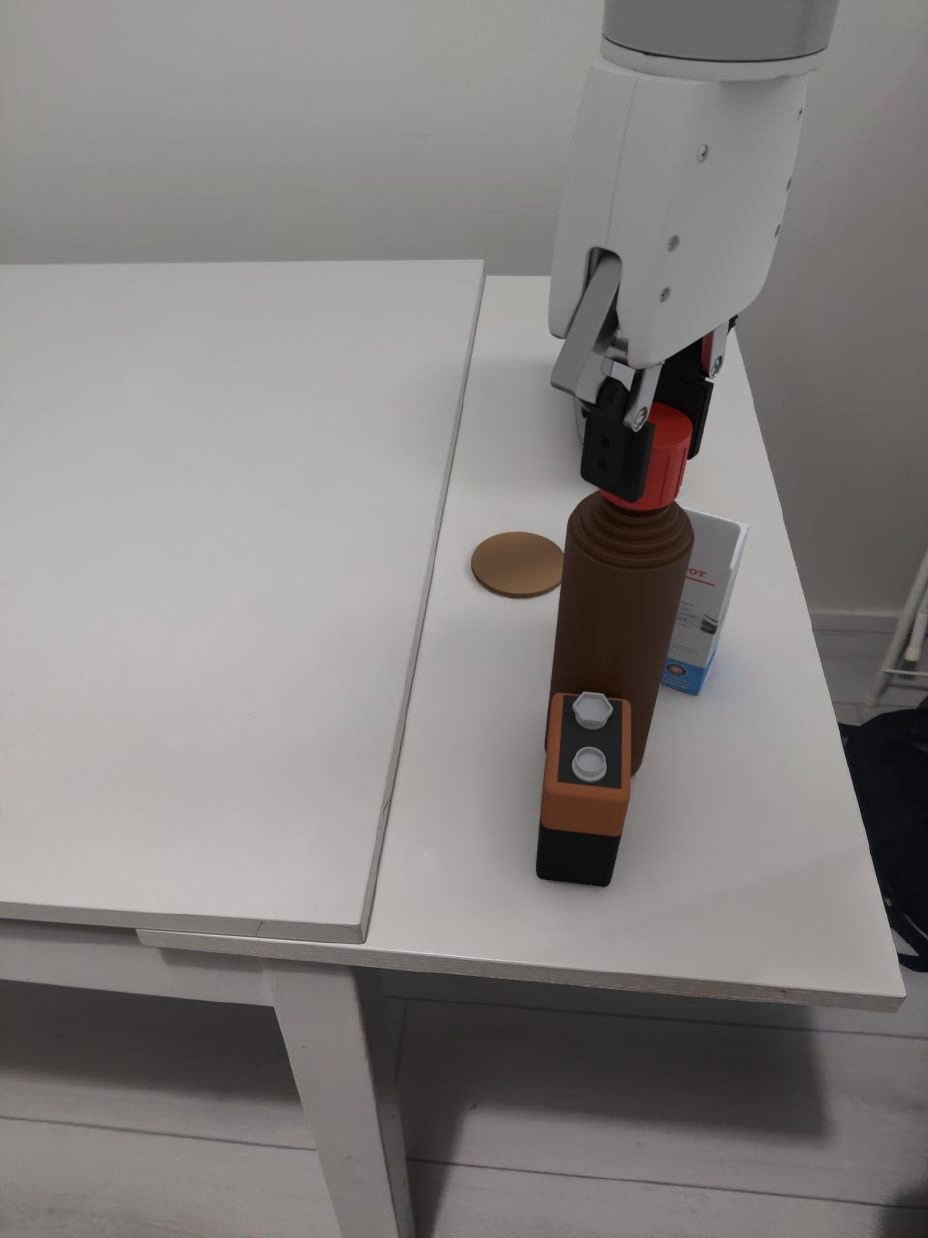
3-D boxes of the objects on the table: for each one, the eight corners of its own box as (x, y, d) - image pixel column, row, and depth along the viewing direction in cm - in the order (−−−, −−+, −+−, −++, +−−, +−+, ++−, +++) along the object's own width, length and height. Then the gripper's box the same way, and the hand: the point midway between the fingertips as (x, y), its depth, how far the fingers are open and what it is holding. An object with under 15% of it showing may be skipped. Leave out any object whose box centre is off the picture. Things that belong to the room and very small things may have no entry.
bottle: (663, 749, 57) (744, 437, 40) (599, 806, 54) (659, 494, 37) (588, 694, 60) (635, 386, 44) (523, 745, 57) (548, 434, 40)
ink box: (717, 651, 63) (766, 482, 53) (698, 698, 60) (746, 528, 50) (605, 614, 66) (631, 447, 56) (581, 658, 63) (604, 488, 52)
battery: (612, 792, 54) (634, 685, 47) (610, 892, 49) (634, 789, 42) (542, 784, 55) (553, 677, 48) (533, 882, 50) (544, 779, 43)
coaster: (586, 567, 70) (586, 562, 69) (519, 612, 66) (520, 607, 66) (517, 524, 74) (518, 519, 73) (451, 564, 70) (451, 559, 70)
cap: (638, 521, 40) (649, 457, 38) (579, 481, 43) (587, 418, 40) (696, 490, 42) (710, 427, 40) (636, 454, 44) (647, 392, 42)
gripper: (744, -38, 35) (668, 377, 48) (464, 25, 26) (462, 513, 39) (930, -15, 32) (794, 427, 44) (677, 67, 23) (599, 590, 35)
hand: (639, 464), depth 42 cm, fingers closed on cap, 3 cm apart
